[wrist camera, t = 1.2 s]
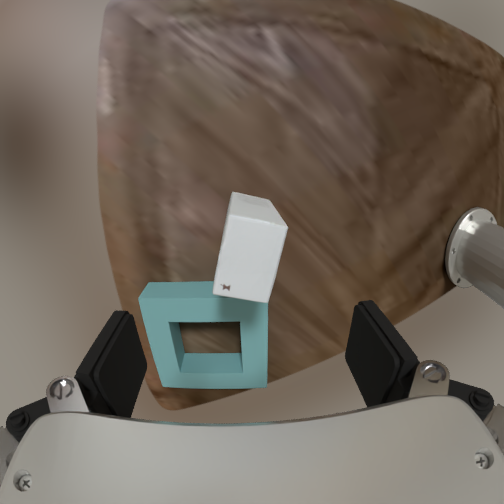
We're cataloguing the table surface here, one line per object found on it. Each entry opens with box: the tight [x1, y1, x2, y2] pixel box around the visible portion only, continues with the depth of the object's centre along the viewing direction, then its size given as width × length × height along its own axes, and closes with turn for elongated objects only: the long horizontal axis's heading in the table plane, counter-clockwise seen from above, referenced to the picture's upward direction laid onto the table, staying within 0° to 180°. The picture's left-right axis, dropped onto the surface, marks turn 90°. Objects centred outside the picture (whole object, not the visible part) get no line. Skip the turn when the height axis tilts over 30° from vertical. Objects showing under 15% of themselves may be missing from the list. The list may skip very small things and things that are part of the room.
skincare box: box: [212, 192, 288, 303], centre depth 24 cm, size 6×4×12 cm
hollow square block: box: [138, 281, 268, 389], centre depth 33 cm, size 14×14×4 cm
